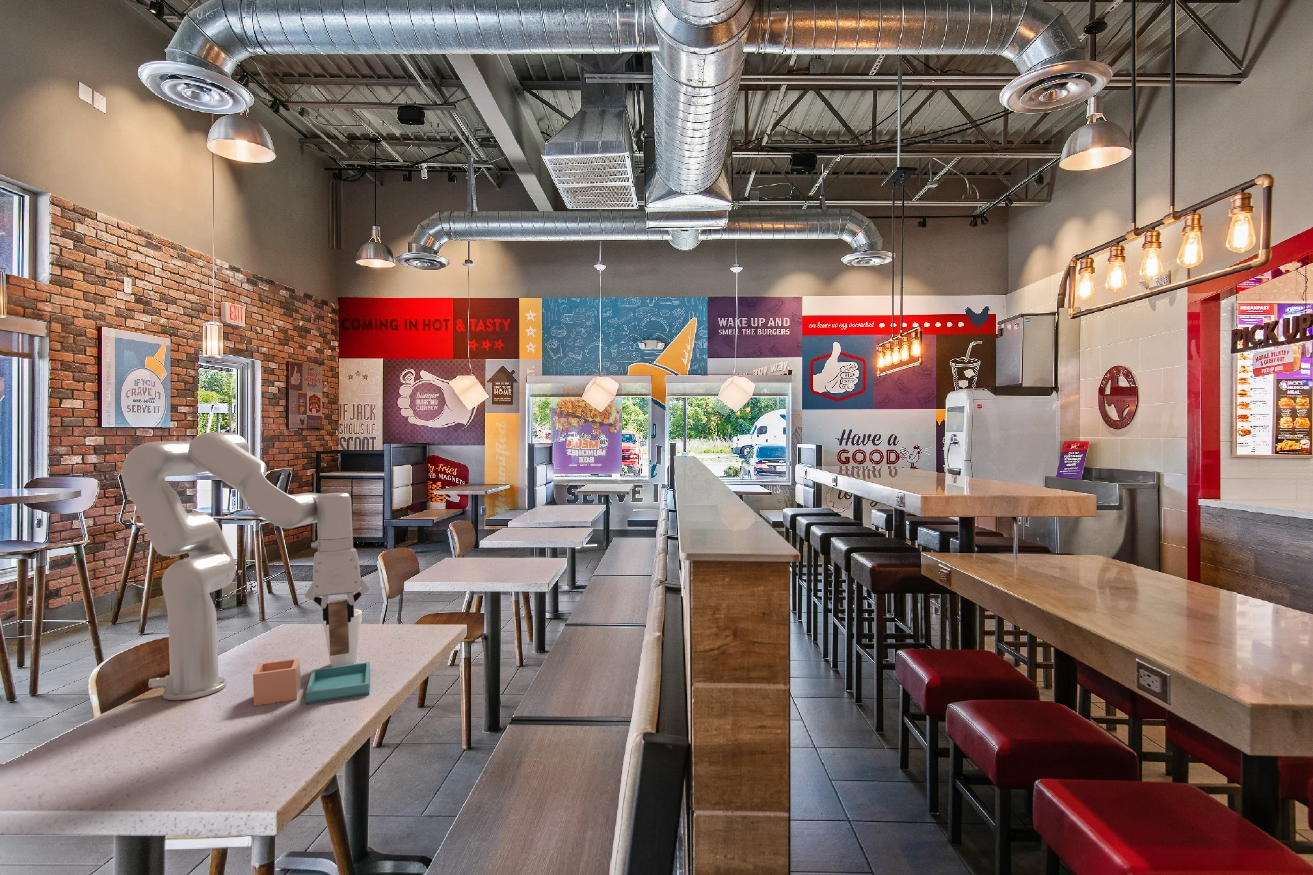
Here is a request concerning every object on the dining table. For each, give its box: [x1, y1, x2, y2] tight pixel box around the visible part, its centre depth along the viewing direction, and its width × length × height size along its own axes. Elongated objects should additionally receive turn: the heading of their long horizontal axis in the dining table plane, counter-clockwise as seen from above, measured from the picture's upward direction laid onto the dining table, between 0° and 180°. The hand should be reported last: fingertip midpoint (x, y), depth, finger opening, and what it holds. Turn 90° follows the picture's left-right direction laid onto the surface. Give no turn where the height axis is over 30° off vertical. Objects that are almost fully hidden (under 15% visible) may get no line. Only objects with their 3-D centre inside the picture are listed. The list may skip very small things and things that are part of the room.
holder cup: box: [252, 657, 302, 707], centre depth 159 cm, size 8×8×7 cm
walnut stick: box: [327, 598, 350, 656], centre depth 164 cm, size 4×4×12 cm
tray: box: [305, 661, 371, 705], centre depth 164 cm, size 13×17×2 cm
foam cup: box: [322, 608, 363, 667], centre depth 182 cm, size 10×9×13 cm
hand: (338, 621), depth 164 cm, fingers closed on walnut stick, 4 cm apart
